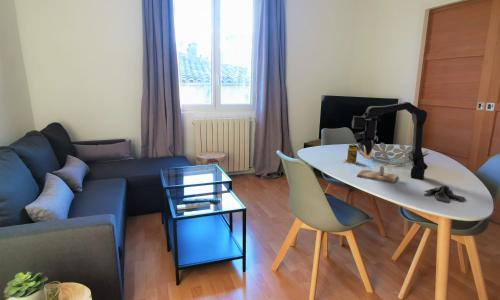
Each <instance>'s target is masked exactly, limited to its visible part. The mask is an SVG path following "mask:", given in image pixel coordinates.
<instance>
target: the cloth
mask: <svg viewBox="0 0 500 300" xmlns="http://www.w3.org/2000/svg"><path fill="white" fill-rule="evenodd" d="M431 195H434V196H435V197H436V199H435V201H437V202H441V203H445V204H451V203H450V200H451V199H452V200H455V201H457V202H458V203H464V201H465V200H466V197H465V196H463V195H458V194H453V190H451V189H450V187H449V186H448V185H441V186H440V187H434V188H430V189H427V190H424V194H423V196H424V197H430V196H431Z"/></svg>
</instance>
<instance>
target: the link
mask: <svg viewBox="0 0 500 300" xmlns="http://www.w3.org/2000/svg"><path fill="white" fill-rule="evenodd" d="M373 149H374V147H373V148H372V150H371V152H370V154H369V155H367V154H366V148H365V147H364V151H363V154H362V155H363V157H362V158H365V159H369V160H372V162H375V163H381V164H385V165H391V163H392V161H393V158H389V157H383V156H379V155H375V156H372V153H373Z"/></svg>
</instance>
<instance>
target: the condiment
mask: <svg viewBox="0 0 500 300" xmlns="http://www.w3.org/2000/svg"><path fill="white" fill-rule="evenodd" d="M357 156H358V145H357V144H354V143H353V144H352V143H350V144H349V145H348V148H347V156H346V157H347V159H344V160H343V162H342V163H348V164H353V165H354V164H355V165H356V164H357V163H358V160H357Z"/></svg>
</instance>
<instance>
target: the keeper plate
mask: <svg viewBox="0 0 500 300" xmlns="http://www.w3.org/2000/svg"><path fill="white" fill-rule="evenodd" d="M356 177H357V178H363V179H368V180H369V179H370V180H374V181H380V182H385V183H386V182H387V183H391V184H394V183H396V180H397V179H398V174H395V173H390V172H389V173H388V172H385V167H384V166H383V165H381V166H379V170H378V171H376V170H371V169H363V168H362V169H361V170H359V172H358V173H357V174H356Z"/></svg>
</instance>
